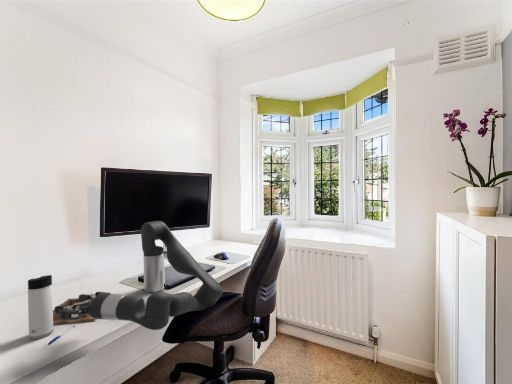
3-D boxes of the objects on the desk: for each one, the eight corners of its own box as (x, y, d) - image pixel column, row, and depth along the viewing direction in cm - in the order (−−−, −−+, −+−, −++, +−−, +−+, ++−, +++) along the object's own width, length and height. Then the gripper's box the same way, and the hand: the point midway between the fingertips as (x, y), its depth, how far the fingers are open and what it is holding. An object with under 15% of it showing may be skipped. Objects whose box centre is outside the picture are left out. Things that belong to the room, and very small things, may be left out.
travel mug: (33, 342, 79) (31, 281, 79) (26, 336, 83) (24, 277, 83) (56, 332, 85) (55, 275, 84) (49, 327, 88) (47, 271, 88)
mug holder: (112, 301, 108) (112, 293, 108) (95, 321, 92) (94, 311, 92) (61, 305, 105) (61, 297, 105) (34, 326, 89) (34, 317, 89)
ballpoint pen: (50, 345, 78) (50, 342, 78) (47, 345, 78) (47, 342, 78) (75, 326, 89) (75, 324, 89) (72, 326, 89) (72, 324, 89)
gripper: (92, 330, 72) (46, 326, 75) (126, 307, 86) (87, 304, 89) (92, 305, 72) (46, 301, 75) (126, 286, 86) (86, 283, 89)
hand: (68, 303), depth 82 cm, fingers open, 8 cm apart
